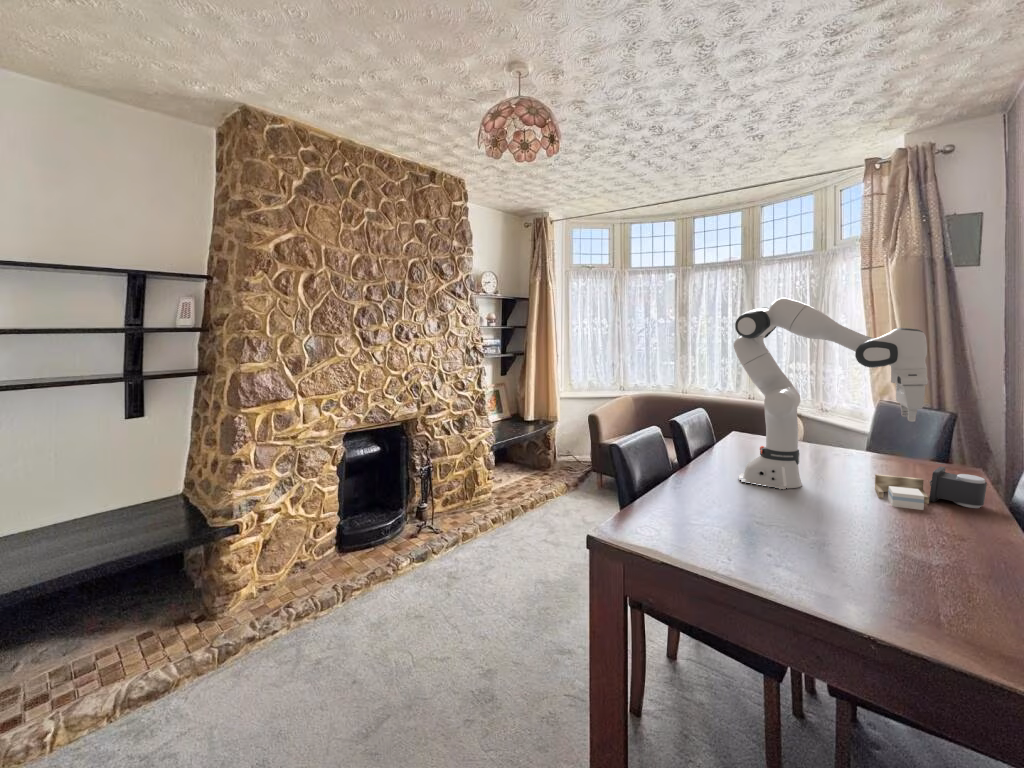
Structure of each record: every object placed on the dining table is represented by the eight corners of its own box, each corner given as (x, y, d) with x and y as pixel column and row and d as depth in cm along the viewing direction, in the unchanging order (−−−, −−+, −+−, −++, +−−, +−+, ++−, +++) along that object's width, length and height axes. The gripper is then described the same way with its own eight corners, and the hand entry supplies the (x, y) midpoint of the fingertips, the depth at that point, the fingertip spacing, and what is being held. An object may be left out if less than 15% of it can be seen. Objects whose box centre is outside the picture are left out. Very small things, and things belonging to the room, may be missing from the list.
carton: (892, 506, 153) (892, 492, 153) (887, 499, 160) (888, 485, 160) (923, 510, 149) (924, 496, 148) (917, 502, 156) (918, 488, 155)
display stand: (878, 498, 161) (879, 481, 160) (874, 489, 170) (875, 474, 169) (928, 504, 154) (929, 487, 153) (921, 494, 163) (922, 478, 162)
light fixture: (979, 513, 146) (984, 481, 144) (925, 501, 156) (929, 471, 155) (986, 505, 152) (990, 475, 151) (934, 494, 163) (937, 465, 161)
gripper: (890, 375, 157) (890, 414, 158) (902, 380, 140) (902, 423, 141) (914, 374, 154) (913, 414, 155) (929, 379, 137) (928, 424, 138)
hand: (908, 418), depth 148 cm, fingers open, 8 cm apart
